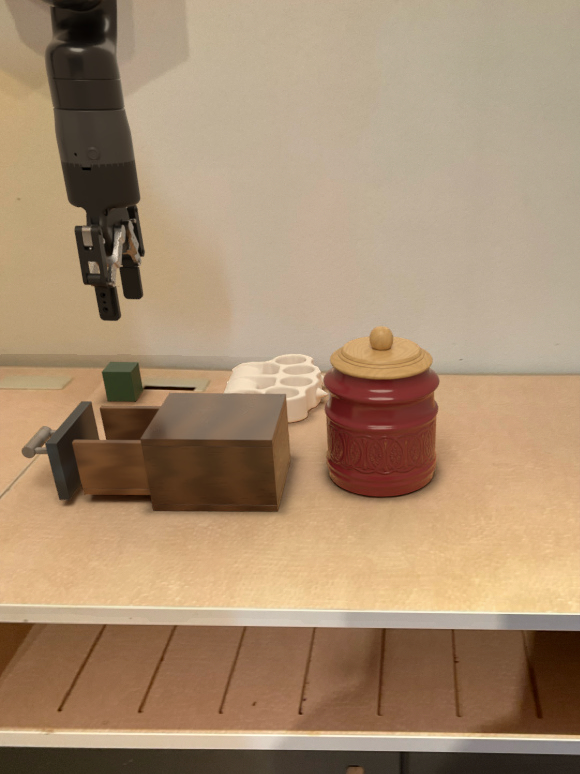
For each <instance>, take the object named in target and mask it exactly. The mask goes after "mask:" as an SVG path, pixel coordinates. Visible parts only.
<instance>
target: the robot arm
mask: <svg viewBox="0 0 580 774" xmlns="http://www.w3.org/2000/svg"><path fill="white" fill-rule="evenodd" d="M39 1H40V2H42V3H44V4H46V5H48V6H49V12H50V13H49V15H50V23H51V40H50V41H49V43H47V45H46V47H45V49H44V65H45V72H46V77H47V82H48V83H47V84H48V89H49V94H50V98H51V99H50V100H51V103H52V104H51V105H52V107H53V108H52V110H53V119H54V120H53V121H54V133H55V139H56V144H57V149H58V150H57V151H58V155H59V161H60V165H61V171H62V176H63V181H64V186H65V193H66V197H67V201H68V203H69V204H70V205H71V206H73V207H76V208H81V209H83V210H84V211H85V219H86V221H85V222H86V223H85V224H83V225H75V226H74V228H73V229H74V231H73V232H74V237H75V243H76V248H77V249H76V250H77V255H78V262H79V266H80V273H81V279H82V283H83V286H91V287H93V288H94V293H95V299H96V304H97V310H98V315H99V318H100V320H102V321H105V322H118V321H119V320H120V319H121V318H122V312H121V306H120V300H119V294H118V287H117V286H116V283H117V270H119V277H120V281H121V288H122V294H123V297H124V298H125V299H126V300H141V299H142V298H143V297H144V289H143V283H142V276H141V275H142V274H141V269H140V267H141V266H142V258H144V257H145V254H146V250H145V246H144V240H143V233H142V228H141V222H140V216H139V208H138V206H137V205H138V204H139V203H140V201H141V192H140V185H139V178H138V171H137V165H136V164H137V163H136V157H135V151H134V144H133V136H132V131H131V126H130V123H129V119H128V116H127V111H126V107H125V99H124V91H123V85H122V79H121V72H120V68H119V63H118V56H117V54H118V53H117V52H118V0H39Z"/></svg>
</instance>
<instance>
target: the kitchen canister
mask: <svg viewBox="0 0 580 774" xmlns="http://www.w3.org/2000/svg"><path fill="white" fill-rule="evenodd" d="M329 362H330V365H331V366H332V367H331V368H329V370H327V371H326V373H324V374H323V376H324V378H323V383H324V384H323V386H324V387H325V389H326V390H327V391H328V394H329V395H327V397H328V398H327V400H326V402H325V404H324V409H323V410H324V414H325V418H326V419H325V420H326V441H327V442H326V443H327V444H326V445H327V451H326V456H325V458H326V467H327V469H328V472H329V477H330V479H331V481H333V483H334V484H335V485H336V486H338V487H340V488H341V489H344V490H345V491H348V492H350V493H354V494H357V495H362V496H368V497H393V496H394V497H395V496H402V495H406V494H409V493H413V492H415V491H418V490H420V489H422V488H424V487H425V486H426V485H428V484H429V483H430V482H431V481H432V479H433V477H434V473H435V470H436V467H437V457H438V455H437V451H436V442H437V441H436V440H437V439H436V438H437V416H438V413H439V405H438V402H437V401H436V399H435V391H436V390H437V389H438V388H439V385H440V383H441V381H440V376H439V375H438V373H437V372H436V371H435V370H434V369H433V368H431V366H432V365H433V356H432V354H431V353H430V352H429V351H427V350H426V349H424V348H422V347H421V346H419V344H418V343H416V342H415V341H413V340H411V339H407V338H404V337H400V336H394V334H393V332H392V330H391V329H390V328H389V327H387V326H384V325H378V326H375V327H374V328H373V329H372V330H371V331H370V333H369V336H362V337H358V338H354V339H352V340H349V341H347V342H346V343H344V344H343V346H342V347H339V348H338V349H336V350H334V352H332V353H331V354H330V357H329Z"/></svg>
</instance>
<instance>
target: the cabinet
mask: <svg viewBox="0 0 580 774" xmlns="http://www.w3.org/2000/svg"><path fill="white" fill-rule="evenodd" d="M160 406H161V407H160V409H159V410H158V412H157V413H156V415H155V416H154V418H153V420H152V421H151V423H150V424H149V426H148V428H147V429H146V431H145V432H144V434H143V435H142V437H141V439H140V441H141V446H142V452H143V457H144V463H145V468H146V474H147V479H148V485H149V490H150V495H149V496H150V501H151V506H152V510H153V511H154V512H155V511H159V512H160V511H161V512H162V511H164V512H167V511H169V512H170V511H171V512H279V509H280V505H281V500H282V497H283V492H284V488H285V484H286V480H287V476H288V472H289V468H290V464H291V461H292V459H291V457H292V456H291V446H290V445H291V444H290V431H289V423H288V414H287V401H286V394H247V393H224V392H169V393H168V394H167V396H166V397H165V399H164V401H163V402H162V404H161V405H160Z"/></svg>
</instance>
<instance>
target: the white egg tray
mask: <svg viewBox="0 0 580 774" xmlns="http://www.w3.org/2000/svg"><path fill="white" fill-rule="evenodd" d="M323 378H324V374H322V371H321V370H320V368H319V366H317V365H315V363H314V358H313V357H311V356H310V355H307V354H302V353H301V354H300V353H288V354H281V355H279V356H275V357H274V358H272V359H271V360H266V361H247V362H242V363H239V364H238V365H236V366H235V367H233V368H232V369H231V374H230V377H229V379H228V380H227V381H226V386H225V388H224V391H223V393H247V394H286V401H287V414H288V424H289V423H291V424H292V423H297V422H300V421H302V420H303V421H304V419H307V418H308V415H309V414H308V412H309V411H310V410H312V409H313V408H316V407H317V406H318V405H319V404H320V402H321V399H322V398H324V397H326V396H328V395H329V392H326V391H325V390H323V385H324V383H323Z"/></svg>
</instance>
